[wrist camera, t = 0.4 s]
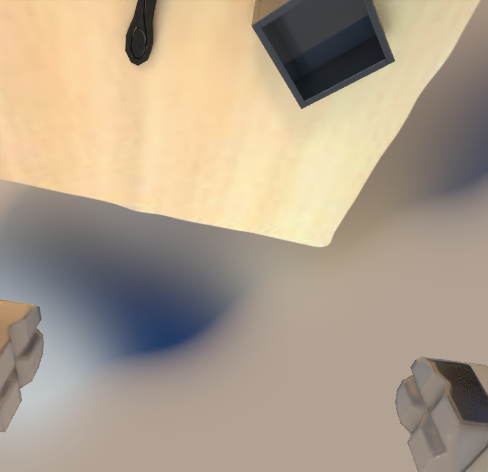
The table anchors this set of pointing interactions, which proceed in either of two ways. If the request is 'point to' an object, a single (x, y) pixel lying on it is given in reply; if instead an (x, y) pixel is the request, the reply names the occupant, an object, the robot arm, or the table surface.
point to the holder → (321, 43)
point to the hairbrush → (141, 32)
